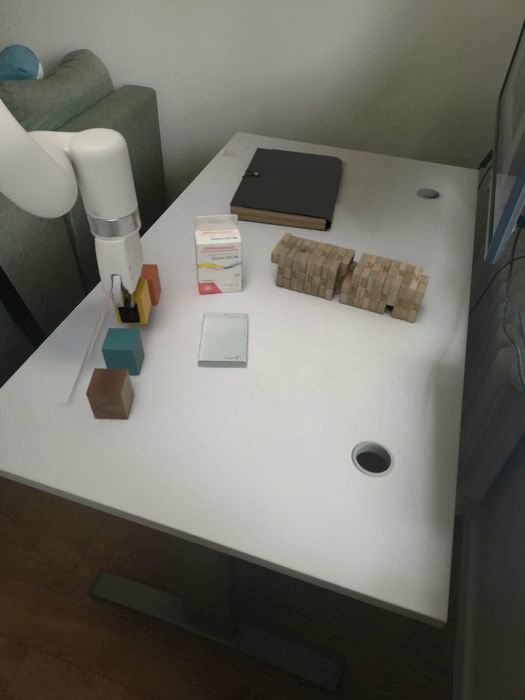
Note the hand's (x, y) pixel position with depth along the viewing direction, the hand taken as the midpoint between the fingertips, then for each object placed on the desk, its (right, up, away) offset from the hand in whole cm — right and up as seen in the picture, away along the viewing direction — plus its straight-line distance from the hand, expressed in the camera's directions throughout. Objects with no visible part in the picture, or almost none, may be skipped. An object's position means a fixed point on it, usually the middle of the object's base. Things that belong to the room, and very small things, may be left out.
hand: (134, 310), depth 87 cm
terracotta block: (0, +3, +9) cm, 10 cm away
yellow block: (0, -1, +1) cm, 1 cm away
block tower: (+39, +4, +12) cm, 41 cm away
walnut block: (0, -16, -10) cm, 19 cm away
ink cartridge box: (+14, +6, +12) cm, 19 cm away
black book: (+29, +34, +41) cm, 60 cm away
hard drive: (+16, -6, +1) cm, 17 cm away
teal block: (0, -9, -3) cm, 10 cm away
